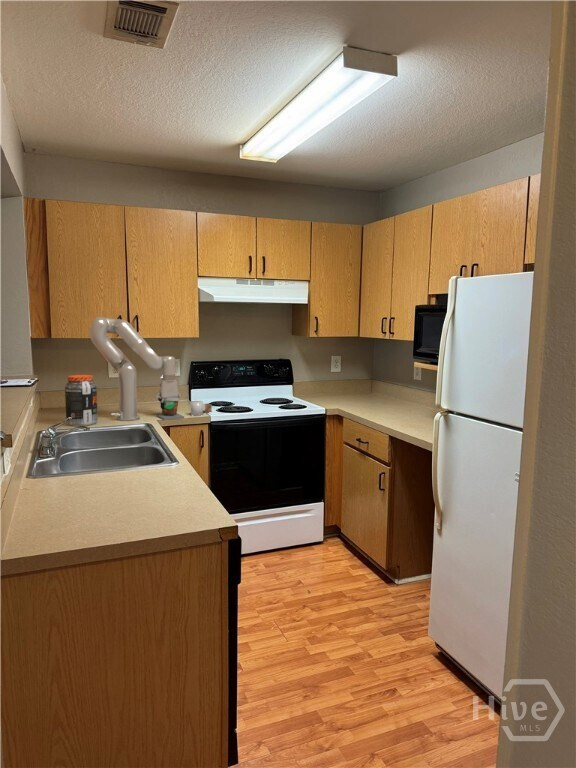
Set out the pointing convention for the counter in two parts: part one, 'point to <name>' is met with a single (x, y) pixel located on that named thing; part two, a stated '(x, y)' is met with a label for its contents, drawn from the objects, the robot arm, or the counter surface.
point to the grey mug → (197, 408)
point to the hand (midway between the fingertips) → (168, 408)
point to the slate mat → (168, 416)
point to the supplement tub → (81, 400)
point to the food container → (170, 405)
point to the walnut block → (208, 408)
